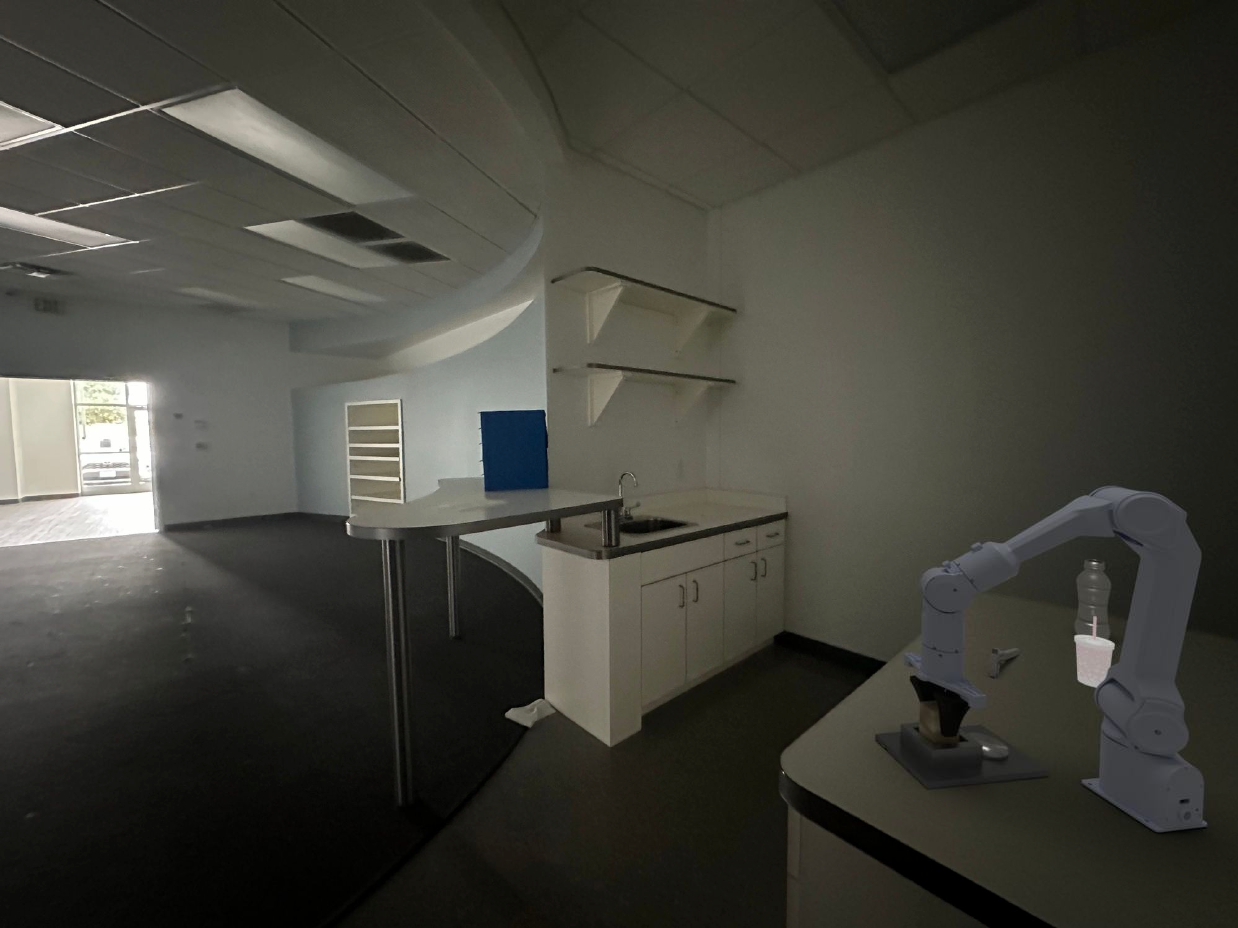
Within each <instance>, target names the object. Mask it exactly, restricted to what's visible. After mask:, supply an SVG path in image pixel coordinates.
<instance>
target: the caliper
mask: <svg viewBox="0 0 1238 928" xmlns="http://www.w3.org/2000/svg"><path fill="white" fill-rule="evenodd" d="M1020 652H1021V650H1020V648H1016V647H1013V648H1010V649H1006V650H1000V648H998V647H992V648H991V653H990V655H989V656H990V659H989V673H988V674H989V677H990V678H991V677H992V678H995V679H996V678H997V677H998V676H999V673H1000V666H1001V665H1005V661H1006V660H1009V659H1012V658H1016V657H1018V656H1019V655H1020V654H1021V653H1022V652H1021V653H1020ZM1018 654H1019V655H1018ZM1017 655H1018V656H1017Z"/></svg>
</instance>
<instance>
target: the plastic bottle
mask: <svg viewBox="0 0 1238 928" xmlns="http://www.w3.org/2000/svg"><path fill="white" fill-rule="evenodd" d="M1083 568H1084V570H1083V571H1081V572H1080V573H1079V574H1078V575H1077V577H1076V580H1075V581H1076V582H1075V583H1076V589H1077V596H1078V597H1077V598H1078V599H1077V600H1078V607H1077V608H1078V609H1077V616H1076V618H1075V622H1074V631H1075V633H1076V635H1090V636H1093V617H1094V616H1096V617H1097V621H1096V637H1100V638H1103V639H1106V640H1110V635H1111V630H1110V625H1109V617H1108V605H1109V597H1110V594H1111V589H1112V582H1111V580H1110V579H1109V577H1108V576H1107V575H1106V573H1105V572H1104V571H1105V569H1106V568H1105V561H1102V560H1097V559H1085V560H1084V563H1083Z"/></svg>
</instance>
